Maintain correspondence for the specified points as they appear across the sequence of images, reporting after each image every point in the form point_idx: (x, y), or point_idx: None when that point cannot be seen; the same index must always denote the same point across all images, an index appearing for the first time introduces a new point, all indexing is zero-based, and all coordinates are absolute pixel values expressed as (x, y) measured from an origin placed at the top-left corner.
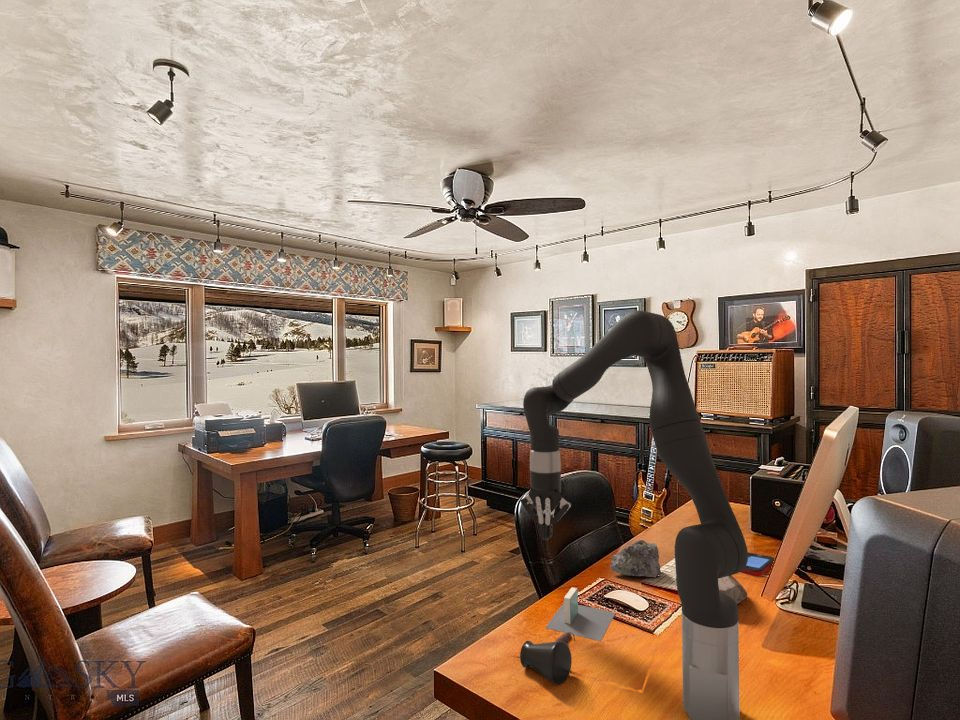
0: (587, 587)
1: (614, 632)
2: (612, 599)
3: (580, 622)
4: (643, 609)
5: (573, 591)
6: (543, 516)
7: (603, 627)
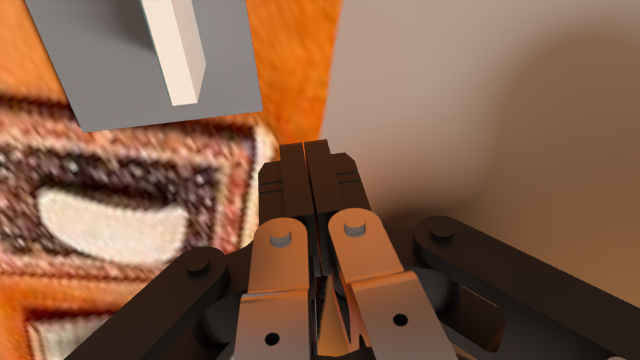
0: (251, 227)
1: (9, 18)
2: (151, 204)
3: (136, 5)
4: (40, 199)
5: (169, 72)
6: (342, 282)
7: (47, 16)
